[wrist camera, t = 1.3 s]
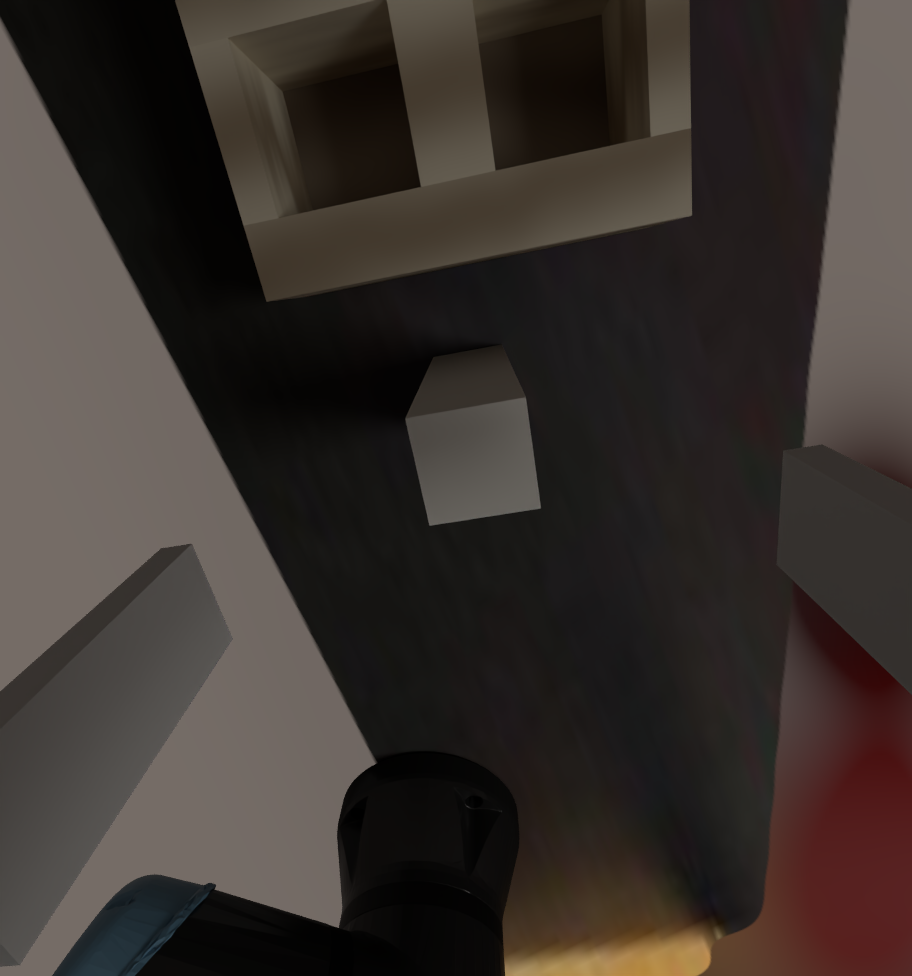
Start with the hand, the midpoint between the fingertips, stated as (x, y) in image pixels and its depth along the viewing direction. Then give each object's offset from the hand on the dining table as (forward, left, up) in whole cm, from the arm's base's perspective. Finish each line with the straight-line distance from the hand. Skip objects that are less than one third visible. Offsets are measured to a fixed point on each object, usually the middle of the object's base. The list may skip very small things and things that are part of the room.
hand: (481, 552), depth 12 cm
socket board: (+14, -1, -20) cm, 25 cm away
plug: (0, 0, -20) cm, 20 cm away
